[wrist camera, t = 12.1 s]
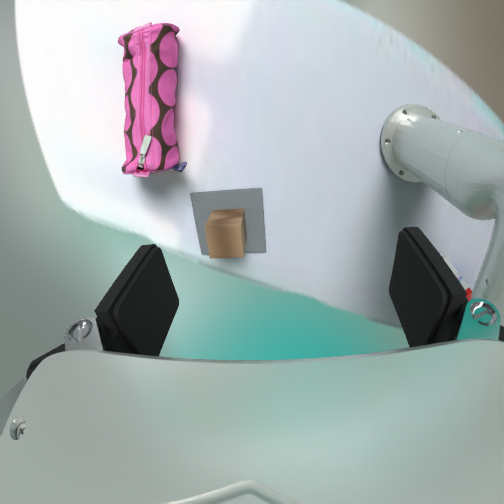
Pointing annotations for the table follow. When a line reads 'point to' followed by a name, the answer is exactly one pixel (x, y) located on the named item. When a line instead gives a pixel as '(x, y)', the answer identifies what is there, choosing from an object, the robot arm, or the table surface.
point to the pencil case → (150, 99)
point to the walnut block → (226, 233)
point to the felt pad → (232, 200)
